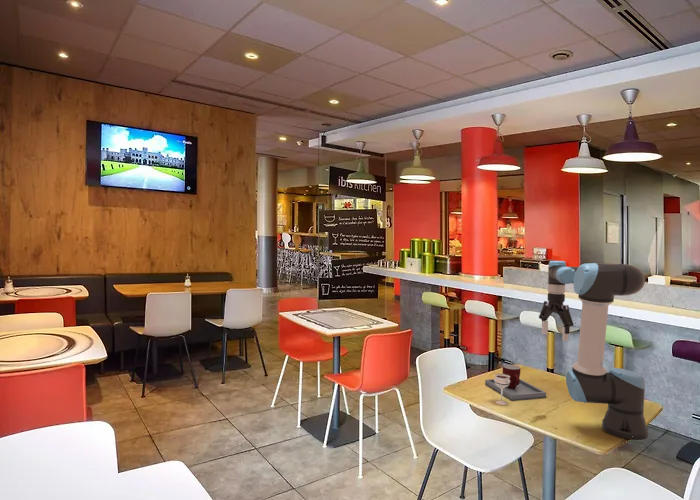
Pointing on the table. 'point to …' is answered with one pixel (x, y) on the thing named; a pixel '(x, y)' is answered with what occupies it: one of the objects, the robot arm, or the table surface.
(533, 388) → the tray
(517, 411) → the table surface
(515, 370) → the mug
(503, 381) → the wineglass
